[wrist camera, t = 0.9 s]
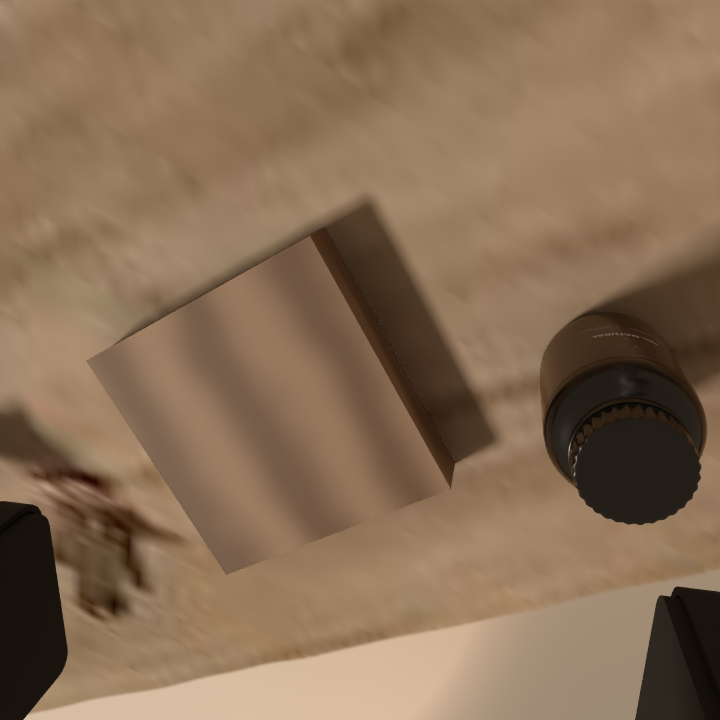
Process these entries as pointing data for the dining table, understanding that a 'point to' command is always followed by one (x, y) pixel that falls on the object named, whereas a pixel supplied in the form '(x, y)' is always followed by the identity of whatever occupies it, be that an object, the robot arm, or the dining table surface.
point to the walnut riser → (276, 408)
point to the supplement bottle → (621, 418)
